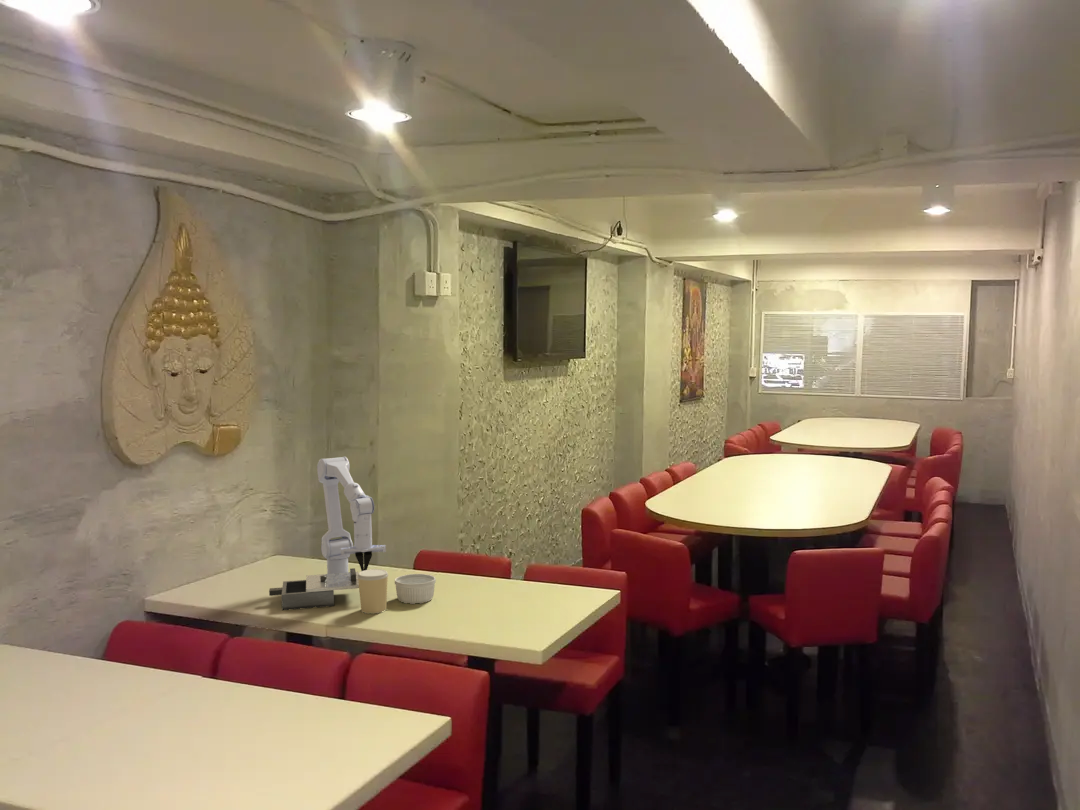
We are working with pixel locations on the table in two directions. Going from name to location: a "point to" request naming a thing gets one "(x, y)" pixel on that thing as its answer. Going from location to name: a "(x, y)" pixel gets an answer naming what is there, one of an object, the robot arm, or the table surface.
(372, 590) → the coffee cup
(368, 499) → the robot arm
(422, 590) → the ramekin
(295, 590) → the gray rectangular box
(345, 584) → the lid
